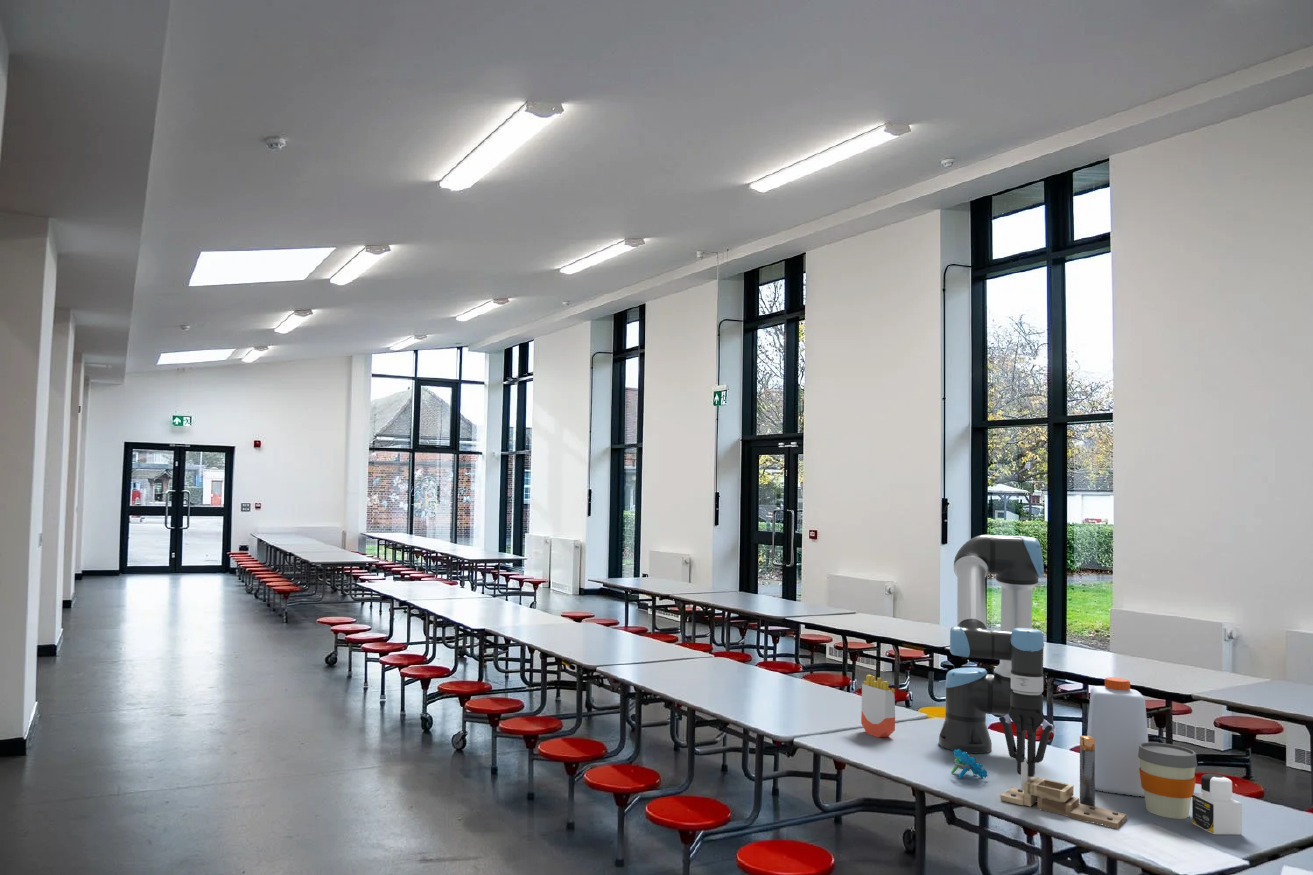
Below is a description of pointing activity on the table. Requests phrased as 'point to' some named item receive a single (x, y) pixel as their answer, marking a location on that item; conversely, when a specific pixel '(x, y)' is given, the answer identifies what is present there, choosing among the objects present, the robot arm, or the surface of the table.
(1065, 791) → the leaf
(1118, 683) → the plastic bottle
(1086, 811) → the wooden mounting plate
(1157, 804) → the reusable coffee cup
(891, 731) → the french fries container
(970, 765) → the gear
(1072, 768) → the table surface
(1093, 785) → the pin
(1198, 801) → the medicine bottle
